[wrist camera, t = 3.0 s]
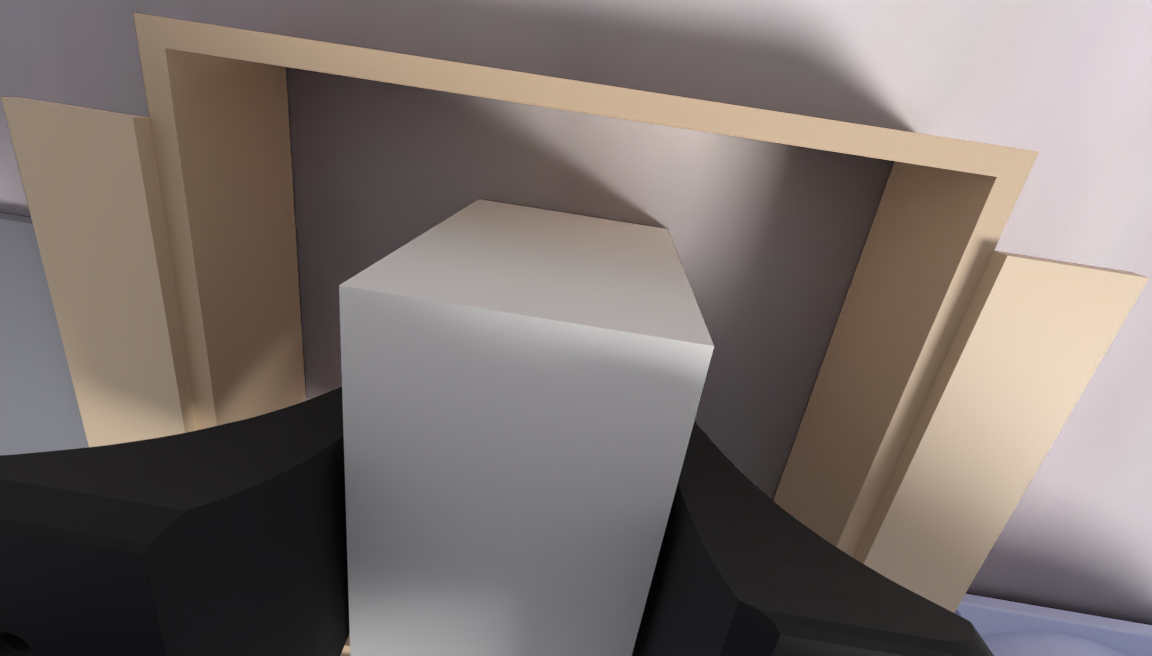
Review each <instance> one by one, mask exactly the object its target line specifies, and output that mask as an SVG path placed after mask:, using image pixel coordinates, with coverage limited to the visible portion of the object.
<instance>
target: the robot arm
mask: <svg viewBox="0 0 1152 656" xmlns="http://www.w3.org/2000/svg"><path fill="white" fill-rule="evenodd" d="M349 634H350V630H349V598H348V565H347V532H346V500H345V467H344V435H343V402H342V387H340V388H338V389H335V390H333V391H330V392H328V393H325V394H323V395H320V396H318V397H315V398H313V399H310V400H307V401H304V402H301V403H298V404H295V405H292V406H289V407H286V408H283V409H280V410H276V411H273V412H270V413H266V414H263V415H260V416H256V417H252V418H248V419H244V420H240V421H236V422H231V423H227V424H223V425H218V426H214V427H210V428H205V429H201V430H197V431H192V432H187V433H182V434H176V435H170V436H165V437H159V438H153V439H147V440H140V441H133V442H127V443H120V444H113V445H105V446H97V447H88V448H78V449H67V450H57V451H47V452H36V453H26V454H14V455H0V656H340V655H341V653H342V650H343V648H344V646H345V643H346V641H347V638H348V636H349ZM632 656H1152V625H1147V624H1141V623H1136V622H1130V621H1124V620H1118V619H1112V618H1106V617H1100V616H1094V615H1088V614H1082V613H1077V612H1071V611H1065V610H1059V609H1053V608H1047V607H1041V606H1035V605H1029V604H1024V603H1018V602H1012V601H1006V600H1000V599H994V598H988V597H982V596H976V595H970V594H965V595H964V597H963V599H962V600H961V602H960V604H959V606H958V607H957V609H956V611H955V612H954V613H953V612H951V611H949V610H947V609H945V608H943V607H941V606H940V605H938V604H936V603H934V602H932V601H930V600H928V599H926V598H924V597H922V596H920V595H918V594H916V593H914V592H912V591H910V590H908V589H907V588H905V587H903V586H901V585H899V584H897V583H895V582H893V581H892V580H890V579H888V578H886V577H885V576H883V575H881V574H879V573H878V572H876V571H874V570H873V569H871V568H869V567H868V566H866V565H864V564H863V563H861V562H859V561H858V560H856V559H854V558H853V557H851V556H849V555H848V554H846V553H845V552H843V551H842V550H840V549H839V548H837V547H835V546H834V545H832V544H831V543H829V542H828V541H826V540H825V539H823V538H822V537H821V536H819V535H818V534H816V533H815V532H814V531H812V530H811V529H809V528H808V527H807V526H805V525H804V524H802V523H801V522H800V521H798V520H797V519H795V518H794V517H793V516H791V515H790V514H789V513H788V512H786V511H785V510H784V509H782V508H781V507H780V506H779V505H777V504H776V503H775V502H774V501H773V500H772V499H770V498H769V497H768V496H767V495H766V494H764V493H763V492H762V491H761V490H760V489H759V488H757V487H756V486H755V485H754V484H753V483H752V482H751V481H750V480H749V479H747V478H746V477H745V476H744V475H743V474H742V473H741V472H740V471H739V470H738V469H737V468H736V467H735V466H734V465H733V464H732V463H731V462H730V461H729V460H728V459H727V458H726V457H725V456H724V455H723V453H722V452H721V451H720V450H719V449H718V448H717V447H716V446H715V445H714V444H713V442H712V441H711V440H710V439H709V438H708V437H707V436H706V434H705V433H704V432H703V431H702V430H701V429H700V427H699V426H698V425H697V424H696V422H695V421H694V424H693V428H692V432H691V436H690V439H689V443H688V447H687V451H686V454H685V458H684V462H683V465H682V469H681V473H680V477H679V480H678V484H677V488H676V492H675V495H674V499H673V503H672V507H671V510H670V514H669V518H668V522H667V525H666V529H665V533H664V537H663V540H662V544H661V548H660V552H659V555H658V559H657V563H656V567H655V570H654V574H653V578H652V582H651V585H650V589H649V593H648V596H647V600H646V604H645V608H644V611H643V615H642V619H641V623H640V626H639V630H638V634H637V638H636V641H635V645H634V649H633V653H632Z"/></svg>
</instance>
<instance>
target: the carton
mask: <svg viewBox="0 0 1152 656" xmlns="http://www.w3.org/2000/svg"><path fill="white" fill-rule="evenodd" d="M133 15H134V21H135V28H136V34H137V41H138V47H139V53H140V60H141V66H142V73H143V79H144V86H145V92H146V99H147V105H148V112H149V117H143V116H137V115H130V114H124V113H118V112H111V111H105V110H99V109H92V108H86V107H80V106H73V105H67V104H61V103H54V102H48V101H41V100H35V99H29V98H22V97H1V100H2V104H3V108H4V112H5V116H6V120H7V124H8V128H9V131H10V135H11V139H12V143H13V147H14V151H15V155H16V159H17V163H18V167H19V171H20V175H21V179H22V183H23V187H24V191H25V195H26V199H27V203H28V207H29V211H30V215H31V219H32V223H33V227H34V231H35V235H36V239H37V243H38V247H39V251H40V255H41V259H42V263H43V267H44V271H45V275H46V279H47V282H48V286H49V290H50V294H51V298H52V302H53V306H54V310H55V314H56V318H57V322H58V326H59V330H60V334H61V338H62V342H63V346H64V350H65V354H66V358H67V362H68V366H69V370H70V374H71V378H72V382H73V386H74V390H75V394H76V398H77V402H78V406H79V410H80V414H81V418H82V422H83V426H84V430H85V433H86V437H87V441H88V445H89V447H97V446H105V445H113V444H120V443H127V442H133V441H140V440H147V439H153V438H159V437H165V436H170V435H176V434H182V433H187V432H192V431H197V430H201V429H205V428H210V427H214V426H218V425H223V424H227V423H231V422H236V421H240V420H244V419H248V418H252V417H256V416H260V415H263V414H266V413H270V412H273V411H276V410H280V409H283V408H286V407H289V406H292V405H295V404H298V403H301V402H304V401H306V391H305V375H304V358H303V342H302V326H301V309H300V293H299V276H298V260H297V244H296V227H295V211H294V194H293V178H292V162H291V145H290V129H289V112H288V96H287V80H286V67H290V68H297V69H303V70H310V71H316V72H322V73H329V74H335V75H342V76H348V77H355V78H361V79H368V80H374V81H381V82H387V83H393V84H400V85H406V86H413V87H419V88H426V89H432V90H439V91H445V92H452V93H458V94H464V95H471V96H477V97H484V98H490V99H497V100H503V101H510V102H516V103H523V104H529V105H535V106H542V107H548V108H555V109H561V110H568V111H574V112H581V113H587V114H594V115H600V116H606V117H613V118H619V119H626V120H632V121H639V122H645V123H652V124H658V125H665V126H671V127H677V128H684V129H690V130H697V131H703V132H710V133H716V134H723V135H729V136H736V137H742V138H748V139H755V140H761V141H768V142H774V143H781V144H787V145H794V146H800V147H807V148H813V149H819V150H826V151H832V152H839V153H845V154H852V155H858V156H865V157H871V158H878V159H884V160H890V161H895V162H894V165H893V167H892V170H891V173H890V176H889V179H888V181H887V184H886V187H885V190H884V192H883V195H882V198H881V201H880V204H879V206H878V209H877V212H876V215H875V218H874V220H873V223H872V226H871V229H870V232H869V234H868V237H867V240H866V243H865V246H864V248H863V251H862V254H861V257H860V259H859V262H858V265H857V268H856V271H855V273H854V276H853V279H852V282H851V285H850V287H849V290H848V293H847V296H846V299H845V301H844V304H843V307H842V310H841V313H840V315H839V318H838V321H837V324H836V326H835V329H834V332H833V335H832V338H831V340H830V343H829V346H828V349H827V352H826V354H825V357H824V360H823V363H822V366H821V368H820V371H819V374H818V377H817V380H816V382H815V385H814V388H813V391H812V393H811V396H810V399H809V402H808V405H807V407H806V410H805V413H804V416H803V419H802V421H801V424H800V427H799V430H798V433H797V435H796V438H795V441H794V444H793V447H792V449H791V452H790V455H789V458H788V460H787V463H786V466H785V469H784V472H783V474H782V477H781V480H780V483H779V486H778V488H777V491H776V494H775V497H774V500H773V501H774V502H775V503H776V504H777V505H779V506H780V507H781V508H782V509H784V510H785V511H786V512H788V513H789V514H790V515H791V516H793V517H794V518H795V519H797V520H798V521H800V522H801V523H802V524H804V525H805V526H807V527H808V528H809V529H811V530H812V531H814V532H815V533H816V534H818V535H819V536H821V537H822V538H823V539H825V540H826V541H828V542H829V543H831V544H832V545H834V546H835V547H837V548H839V549H840V550H842V551H843V552H845V553H846V554H848V555H849V556H851V557H853V558H854V559H856V560H858V561H859V562H861V563H863V564H864V565H866V566H868V567H869V568H871V569H873V570H874V571H876V572H878V573H879V574H881V575H883V576H885V577H886V578H888V579H890V580H892V581H893V582H895V583H897V584H899V585H901V586H903V587H905V588H907V589H908V590H910V591H912V592H914V593H916V594H918V595H920V596H922V597H924V598H926V599H928V600H930V601H932V602H934V603H936V604H938V605H940V606H941V607H943V608H945V609H947V610H949V611H951V612H953V613H954V612H955V611H956V609H957V607H958V606H959V604H960V602H961V600H962V599H963V597H964V595H965V594H966V592H967V590H968V588H969V587H970V585H971V583H972V582H973V580H974V578H975V576H976V575H977V573H978V571H979V570H980V568H981V566H982V564H983V563H984V561H985V559H986V558H987V556H988V554H989V552H990V551H991V549H992V547H993V546H994V544H995V542H996V540H997V539H998V537H999V535H1000V533H1001V532H1002V530H1003V528H1004V527H1005V525H1006V523H1007V521H1008V520H1009V518H1010V516H1011V515H1012V513H1013V511H1014V509H1015V508H1016V506H1017V504H1018V503H1019V501H1020V499H1021V497H1022V496H1023V494H1024V492H1025V491H1026V489H1027V487H1028V485H1029V484H1030V482H1031V480H1032V479H1033V477H1034V475H1035V473H1036V472H1037V470H1038V468H1039V467H1040V465H1041V463H1042V461H1043V460H1044V458H1045V456H1046V455H1047V453H1048V451H1049V449H1050V448H1051V446H1052V444H1053V442H1054V441H1055V439H1056V437H1057V436H1058V434H1059V432H1060V430H1061V429H1062V427H1063V425H1064V424H1065V422H1066V420H1067V418H1068V417H1069V415H1070V413H1071V412H1072V410H1073V408H1074V406H1075V405H1076V403H1077V401H1078V400H1079V398H1080V396H1081V394H1082V393H1083V391H1084V389H1085V388H1086V386H1087V384H1088V382H1089V381H1090V379H1091V377H1092V376H1093V374H1094V372H1095V370H1096V369H1097V367H1098V365H1099V363H1100V362H1101V360H1102V358H1103V357H1104V355H1105V353H1106V351H1107V350H1108V348H1109V346H1110V345H1111V343H1112V341H1113V339H1114V338H1115V336H1116V334H1117V333H1118V331H1119V329H1120V327H1121V326H1122V324H1123V322H1124V321H1125V319H1126V317H1127V315H1128V314H1129V312H1130V310H1131V309H1132V307H1133V305H1134V303H1135V302H1136V300H1137V298H1138V297H1139V295H1140V293H1141V291H1142V290H1143V288H1144V286H1145V285H1146V283H1147V281H1148V279H1149V278H1148V277H1145V276H1141V275H1138V274H1135V273H1132V272H1127V271H1121V270H1114V269H1108V268H1102V267H1095V266H1089V265H1083V264H1076V263H1070V262H1064V261H1057V260H1051V259H1045V258H1038V257H1032V256H1025V255H1019V254H1013V253H1006V252H1000V251H994V249H995V247H996V245H997V243H998V241H999V238H1000V236H1001V234H1002V232H1003V230H1004V227H1005V225H1006V223H1007V221H1008V219H1009V216H1010V214H1011V212H1012V210H1013V208H1014V205H1015V203H1016V201H1017V199H1018V197H1019V195H1020V192H1021V190H1022V188H1023V186H1024V184H1025V181H1026V179H1027V177H1028V175H1029V173H1030V170H1031V168H1032V166H1033V164H1034V162H1035V159H1036V157H1037V155H1038V153H1039V152H1037V151H1031V150H1024V149H1018V148H1011V147H1005V146H998V145H992V144H985V143H979V142H972V141H966V140H959V139H953V138H946V137H940V136H933V135H927V134H920V133H914V132H907V131H901V130H894V129H888V128H881V127H875V126H868V125H862V124H855V123H849V122H842V121H836V120H829V119H823V118H816V117H810V116H803V115H797V114H790V113H784V112H777V111H771V110H764V109H758V108H751V107H745V106H738V105H732V104H725V103H719V102H712V101H706V100H699V99H693V98H686V97H680V96H673V95H667V94H660V93H654V92H647V91H641V90H634V89H628V88H621V87H615V86H608V85H602V84H595V83H589V82H582V81H576V80H569V79H563V78H556V77H550V76H543V75H537V74H530V73H524V72H517V71H511V70H504V69H498V68H491V67H485V66H478V65H472V64H465V63H459V62H452V61H446V60H439V59H433V58H426V57H420V56H413V55H407V54H400V53H394V52H387V51H381V50H374V49H368V48H361V47H355V46H348V45H342V44H335V43H329V42H322V41H316V40H309V39H303V38H296V37H290V36H283V35H277V34H270V33H264V32H257V31H251V30H244V29H238V28H231V27H225V26H218V25H212V24H205V23H199V22H192V21H186V20H179V19H173V18H166V17H160V16H153V15H147V14H140V13H134V12H133ZM340 656H350V634H349V636H348V638H347V641H346V643H345V646H344V648H343V650H342V653H341V655H340Z"/></svg>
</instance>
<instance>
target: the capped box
mask: <svg viewBox="0 0 1152 656" xmlns="http://www.w3.org/2000/svg"><path fill="white" fill-rule="evenodd" d="M339 304H340V337H341V369H342V402H343V435H344V467H345V500H346V532H347V565H348V598H349V630H350V656H632V653H633V649H634V645H635V641H636V638H637V634H638V630H639V626H640V623H641V619H642V615H643V611H644V608H645V604H646V600H647V596H648V593H649V589H650V585H651V582H652V578H653V574H654V570H655V567H656V563H657V559H658V555H659V552H660V548H661V544H662V540H663V537H664V533H665V529H666V525H667V522H668V518H669V514H670V510H671V507H672V503H673V499H674V495H675V492H676V488H677V484H678V480H679V477H680V473H681V469H682V465H683V462H684V458H685V454H686V451H687V447H688V443H689V439H690V436H691V432H692V428H693V424H694V421H695V417H696V413H697V409H698V406H699V402H700V398H701V394H702V391H703V387H704V383H705V379H706V376H707V372H708V368H709V364H710V361H711V357H712V353H713V349H714V344H713V342H712V339H711V337H710V334H709V331H708V329H707V326H706V324H705V321H704V319H703V316H702V314H701V311H700V309H699V306H698V304H697V301H696V299H695V296H694V294H693V291H692V289H691V286H690V283H689V281H688V278H687V276H686V273H685V271H684V268H683V266H682V263H681V261H680V258H679V256H678V253H677V251H676V248H675V246H674V243H673V241H672V238H671V235H670V233H669V230H668V229H665V228H658V227H652V226H646V225H640V224H633V223H627V222H621V221H614V220H608V219H602V218H595V217H589V216H583V215H576V214H570V213H564V212H558V211H551V210H545V209H539V208H532V207H526V206H520V205H513V204H507V203H501V202H494V201H488V200H482V199H478V200H477V201H475V202H473V203H472V204H470V205H468V206H467V207H465V208H464V209H462V210H460V211H459V212H457V213H455V214H454V215H452V216H451V217H449V218H447V219H446V220H444V221H442V222H441V223H439V224H438V225H436V226H434V227H433V228H431V229H429V230H428V231H426V232H425V233H423V234H421V235H420V236H418V237H416V238H415V239H413V240H412V241H410V242H408V243H407V244H405V245H404V246H402V247H400V248H399V249H397V250H395V251H394V252H392V253H391V254H389V255H387V256H386V257H384V258H382V259H381V260H379V261H378V262H376V263H374V264H373V265H371V266H369V267H368V268H366V269H365V270H363V271H361V272H360V273H358V274H356V275H355V276H353V277H352V278H350V279H348V280H347V281H345V282H343V283H342V284H340V285H339Z"/></svg>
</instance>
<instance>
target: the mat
mask: <svg viewBox="0 0 1152 656" xmlns="http://www.w3.org/2000/svg"><path fill="white" fill-rule="evenodd" d="M88 447H89V445H88V441H87V437H86V433H85V430H84V426H83V422H82V418H81V414H80V410H79V406H78V402H77V398H76V394H75V390H74V386H73V382H72V378H71V374H70V370H69V366H68V362H67V358H66V354H65V350H64V346H63V342H62V338H61V334H60V330H59V326H58V322H57V318H56V314H55V310H54V306H53V302H52V298H51V294H50V290H49V286H48V282H47V279H46V275H45V271H44V267H43V263H42V259H41V255H40V251H39V247H38V243H37V239H36V235H35V231H34V227H33V223H32V219H31V217H25V216H19V215H13V214H7V213H0V455H14V454H26V453H36V452H47V451H57V450H67V449H78V448H88Z"/></svg>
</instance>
